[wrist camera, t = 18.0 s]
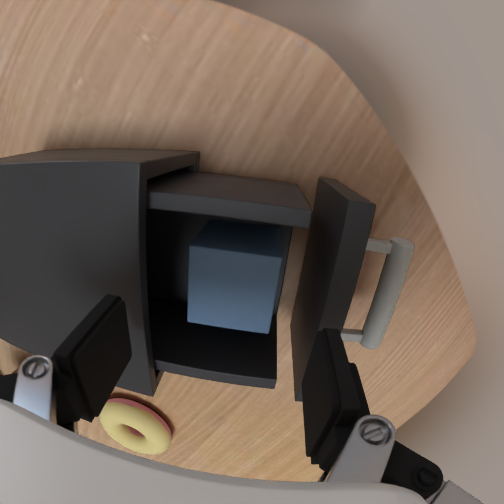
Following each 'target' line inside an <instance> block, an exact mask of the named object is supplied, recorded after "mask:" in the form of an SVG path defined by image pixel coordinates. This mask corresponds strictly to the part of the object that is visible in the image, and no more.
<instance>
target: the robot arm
mask: <svg viewBox="0 0 504 504" xmlns="http://www.w3.org/2000/svg"><path fill="white" fill-rule="evenodd" d="M131 357H132V349H131V342H130V336H129V328H128V321H127V313H126V304H125V301H122V298H121V297H120V296H116V295H111V294H106V295H105V296H104V297H103V298H102V299H101V300H100V302H99V303H98V304H97V305H96V306H95V307H94V308H93V309H92V310H91V311H90V312H89V313H88V314H87V315H86V317H85V318H84V319H83V320H82V321H81V322H80V323H79V324H78V325H77V326H76V328H75V329H74V330H73V331H72V332H71V333H70V334H69V335H68V337H67V338H66V339H65V340H64V341H63V342H62V343H61V344H60V346H59V347H58V348H57V349H56V350H55V351H54V353H53V356H52V357H51V358H49V357H47V356H45V355H41V354H36V355H31V356H29V357H27V358H25V359H24V360H23V361H22V362H21V364H20V366H19V370H18V373H13V374H9V375H4V376H0V504H483V503H482V502H481V501H480V500H478V499H477V498H475V497H474V496H472V495H471V494H469V493H468V492H466V491H464V490H463V489H462V488H460V487H459V486H457V485H456V484H454V483H453V482H451V481H450V480H448V481H447V482H445V481H444V480H443V474H442V472H441V470H440V468H439V467H438V466H437V465H436V464H434V463H433V462H431V461H429V460H427V459H426V458H424V457H422V456H420V455H419V454H417V453H415V452H414V451H412V450H410V449H409V448H407V447H405V446H404V445H402V444H400V443H399V442H397V441H395V438H396V431H395V427H394V426H393V424H392V423H391V422H390V421H389V420H388V419H386V418H384V417H382V416H379V415H370V411H369V408H368V404H367V400H366V397H365V393H364V390H363V387H362V383H361V380H360V376H359V373H358V370H357V367H356V365H355V364H354V363H349V361H348V358H347V354H346V351H345V348H344V344H343V341H342V337H341V334H340V331H339V329H334V328H323V330H322V331H318V332H317V335H316V339H315V342H314V345H313V349H312V352H311V355H310V358H309V361H308V365H307V368H306V371H305V374H304V377H303V380H302V400H303V414H304V429H305V445H306V456H307V457H311V464H319V468H321V469H322V470H323V473H322V475H321V476H320V478H319V480H318V481H317V482H291V481H271V480H258V479H248V478H239V477H231V476H224V475H218V474H212V473H206V472H200V471H195V470H190V469H185V468H181V467H176V466H172V465H168V464H164V463H160V462H156V461H153V460H149V459H146V458H142V457H139V456H136V455H132V454H129V453H126V452H123V451H120V450H117V449H114V448H112V447H109V446H106V445H103V444H101V443H98V442H96V441H93V440H91V439H88V438H86V437H83V436H81V435H79V434H78V423H77V421H79V420H80V418H81V419H84V420H86V421H89V422H91V423H92V421H93V419H94V417H98V416H99V415H100V413H101V411H102V409H103V407H104V406H105V404H106V402H107V400H108V398H109V397H110V395H111V393H112V391H113V389H114V388H115V386H116V384H117V382H118V381H119V379H120V377H121V375H122V374H123V372H124V370H125V368H126V367H127V365H128V363H129V361H130V360H131Z"/></svg>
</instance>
